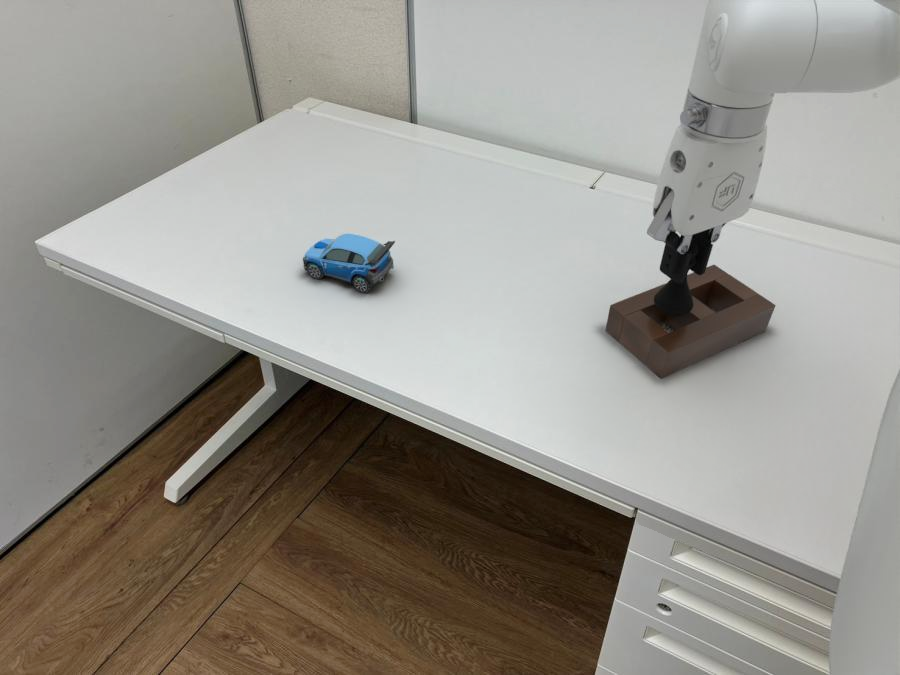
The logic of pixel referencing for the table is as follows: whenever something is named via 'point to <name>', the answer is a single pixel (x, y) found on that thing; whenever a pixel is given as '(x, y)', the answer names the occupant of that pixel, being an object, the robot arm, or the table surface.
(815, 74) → the robot arm
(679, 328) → the socket base
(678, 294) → the chess piece
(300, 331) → the table surface
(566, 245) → the table surface
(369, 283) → the toy car
